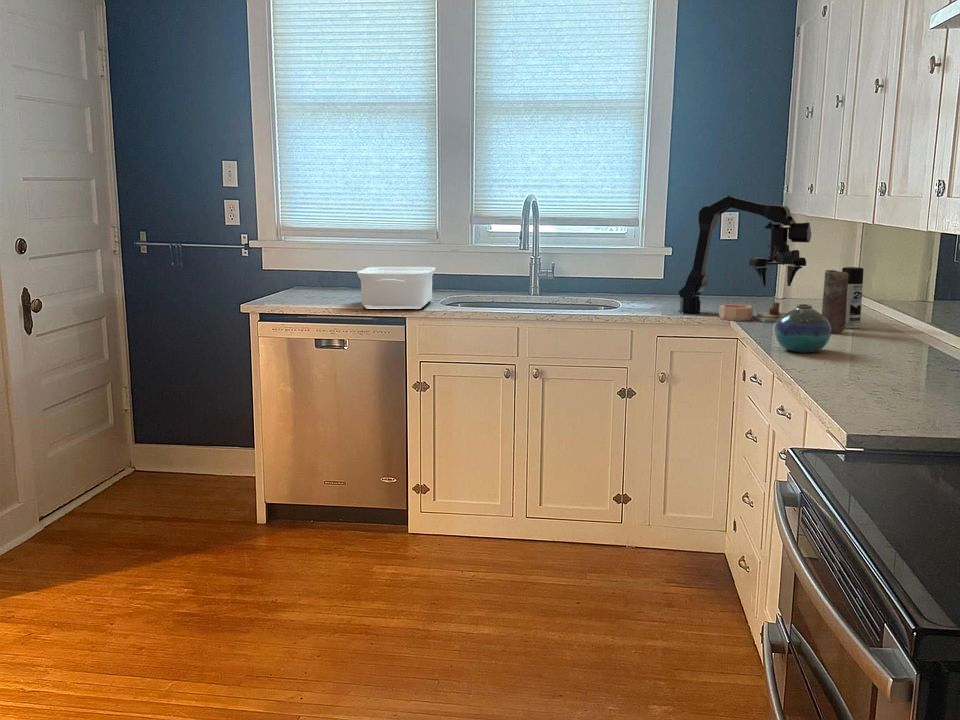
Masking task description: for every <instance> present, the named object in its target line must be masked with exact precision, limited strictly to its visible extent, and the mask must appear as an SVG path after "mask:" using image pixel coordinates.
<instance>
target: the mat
mask: <svg viewBox="0 0 960 720" xmlns="http://www.w3.org/2000/svg"><path fill="white" fill-rule="evenodd" d="M751 319H754V320H756V321H760V322H763V323H776V322H777V321H778V319H770V318H762V317H758V316H757V313H753V317H751Z"/></svg>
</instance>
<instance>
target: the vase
mask: <svg viewBox="0 0 960 720" xmlns="http://www.w3.org/2000/svg"><path fill="white" fill-rule="evenodd" d="M785 313H786V314H784V315H782V316H781V317H780V318H779V319H778V321H777V322H775V325H774V336H775V338H776V341H777V343H778V344H779V345H780V346H781V347H782V348H783V349H785V350H787V351H790V352H793V353H807V354H808V353H815V352H818V351H819V350H822V349H823V348H824V347H826V345H827V344H828V343H829V342H830V338H831V336H832V332H831V325H830V322H829V321H828V319H827V318H826V317H824V316H823V315H822V313H820V312H818V311H817V310H815V309H814V308H813V306H812V304H802V303H801V304H797V305H796V307H795V308H794V309H792V310H790V311H787V312H785Z"/></svg>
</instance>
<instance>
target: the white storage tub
mask: <svg viewBox="0 0 960 720" xmlns="http://www.w3.org/2000/svg"><path fill="white" fill-rule="evenodd" d="M435 271H436V267H435V266H370V267H366V268H363V269H361V270H359V271H356V274H357V277H358V278H359V279H360V288H361V289H360V293H361V294H360V295H361V306H362V305H372V306H425V305H426V304H427V303H428V302H429V301H431V302H432V300H433V276H434V274H435ZM429 303H430V302H429ZM429 303H428V304H429ZM428 304H427V305H428ZM427 305H426V306H427ZM426 306H425V307H426Z"/></svg>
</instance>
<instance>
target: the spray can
mask: <svg viewBox="0 0 960 720" xmlns="http://www.w3.org/2000/svg"><path fill="white" fill-rule="evenodd" d="M864 270H865V269H864V268H863V267H859V266H858V267H856V266H846V267H842V268H841V272H846V273H848V274H849V276H848V290H847V305H846V320H845V329H846V330H859V329H861V319H862V317H861V316H862V314H861V313H862V303H863V302H862V300H863V289H864V288H863V284H864Z"/></svg>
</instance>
